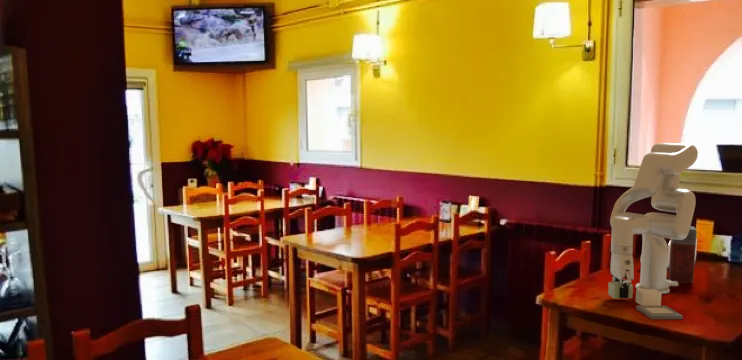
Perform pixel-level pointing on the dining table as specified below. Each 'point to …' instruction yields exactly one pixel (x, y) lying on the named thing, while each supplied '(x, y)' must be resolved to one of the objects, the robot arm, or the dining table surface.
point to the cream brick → (648, 297)
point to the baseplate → (659, 312)
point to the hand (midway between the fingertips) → (620, 294)
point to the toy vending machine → (683, 258)
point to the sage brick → (618, 290)
